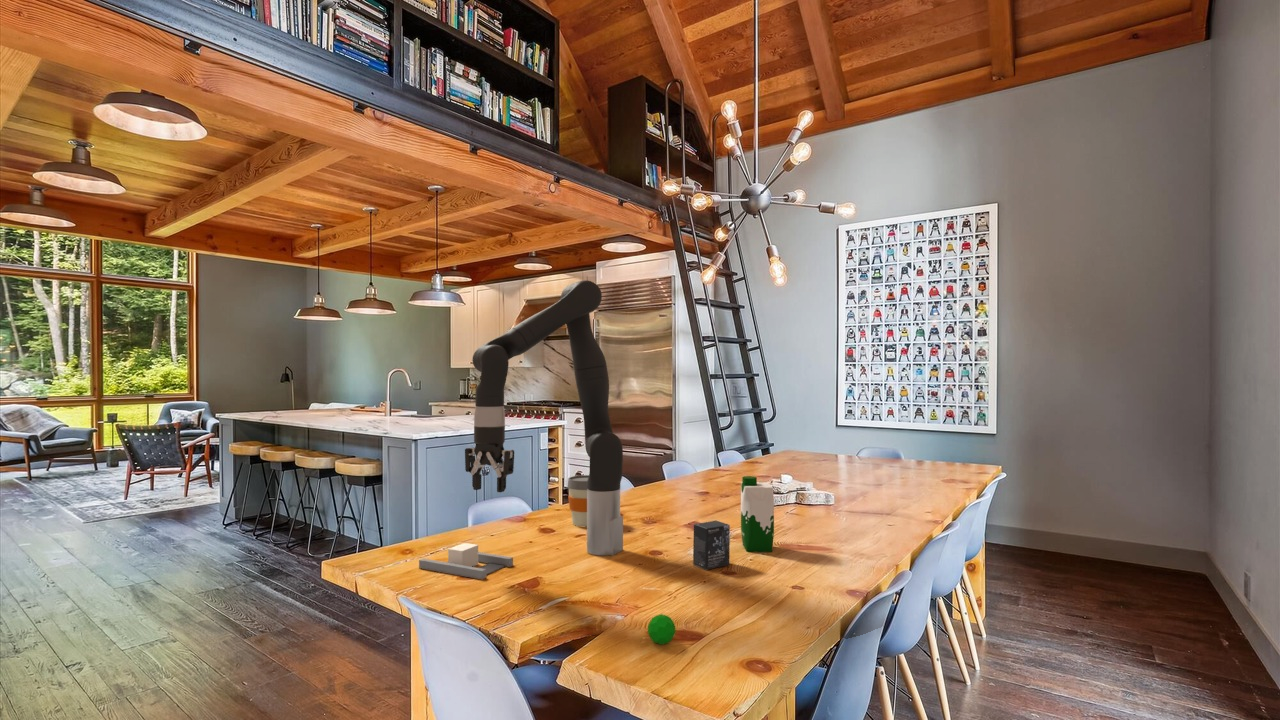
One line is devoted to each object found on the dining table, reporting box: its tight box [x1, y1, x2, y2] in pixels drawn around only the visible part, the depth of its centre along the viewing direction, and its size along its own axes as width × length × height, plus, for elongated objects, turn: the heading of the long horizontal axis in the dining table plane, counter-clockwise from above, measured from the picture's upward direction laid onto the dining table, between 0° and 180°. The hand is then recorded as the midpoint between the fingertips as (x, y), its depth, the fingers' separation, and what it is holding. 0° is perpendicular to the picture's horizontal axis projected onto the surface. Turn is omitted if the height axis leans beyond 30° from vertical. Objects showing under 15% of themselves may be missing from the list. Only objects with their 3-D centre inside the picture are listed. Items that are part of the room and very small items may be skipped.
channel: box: [418, 551, 514, 580], centre depth 152 cm, size 20×12×2 cm, turn 65°
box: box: [692, 520, 731, 571], centre depth 154 cm, size 8×6×11 cm
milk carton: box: [740, 475, 775, 553], centre depth 169 cm, size 9×9×20 cm
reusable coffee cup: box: [566, 474, 589, 528], centre depth 197 cm, size 13×13×15 cm
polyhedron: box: [647, 614, 676, 646], centre depth 109 cm, size 5×5×5 cm
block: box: [447, 542, 479, 567], centre depth 153 cm, size 4×6×5 cm
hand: (488, 490), depth 150 cm, fingers open, 7 cm apart
